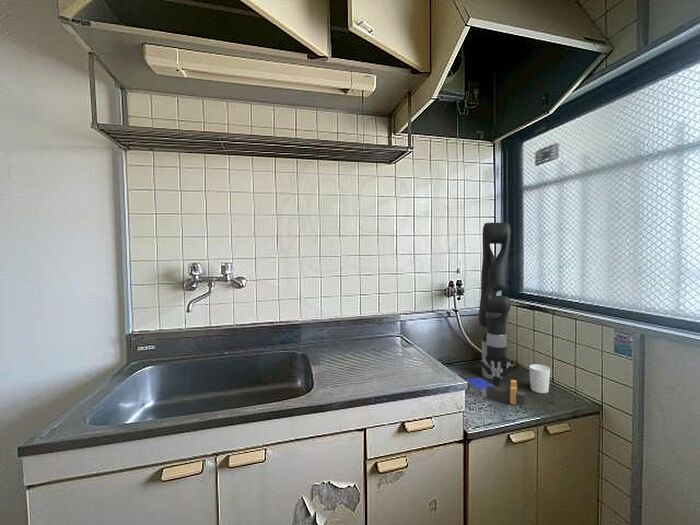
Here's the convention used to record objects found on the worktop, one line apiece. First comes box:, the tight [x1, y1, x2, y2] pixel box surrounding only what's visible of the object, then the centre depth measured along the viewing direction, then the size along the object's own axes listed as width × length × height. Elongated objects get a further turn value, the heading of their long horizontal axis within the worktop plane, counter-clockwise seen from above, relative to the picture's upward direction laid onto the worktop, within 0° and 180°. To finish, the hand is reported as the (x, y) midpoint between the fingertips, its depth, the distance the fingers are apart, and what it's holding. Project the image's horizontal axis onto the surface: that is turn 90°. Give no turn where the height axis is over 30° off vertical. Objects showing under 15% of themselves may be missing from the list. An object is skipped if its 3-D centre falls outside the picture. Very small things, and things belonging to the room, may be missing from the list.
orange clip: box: [509, 379, 518, 406], centre depth 135 cm, size 6×2×8 cm, turn 150°
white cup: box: [529, 363, 551, 394], centre depth 145 cm, size 8×8×10 cm
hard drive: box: [465, 377, 496, 393], centre depth 151 cm, size 2×8×12 cm
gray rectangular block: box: [481, 386, 526, 406], centre depth 137 cm, size 3×16×4 cm, turn 60°
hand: (496, 385), depth 138 cm, fingers closed
